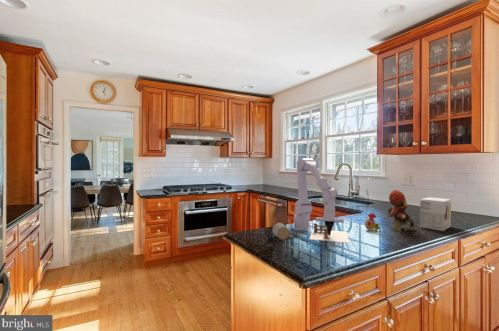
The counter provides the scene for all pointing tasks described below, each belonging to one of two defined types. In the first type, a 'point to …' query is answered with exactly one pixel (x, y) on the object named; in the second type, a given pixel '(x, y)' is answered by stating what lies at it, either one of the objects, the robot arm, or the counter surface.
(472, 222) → the counter surface
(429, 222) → the supplement box
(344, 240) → the card
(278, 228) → the ceramic mug
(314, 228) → the frame
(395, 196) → the stuffed monkey
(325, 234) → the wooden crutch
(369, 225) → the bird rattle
